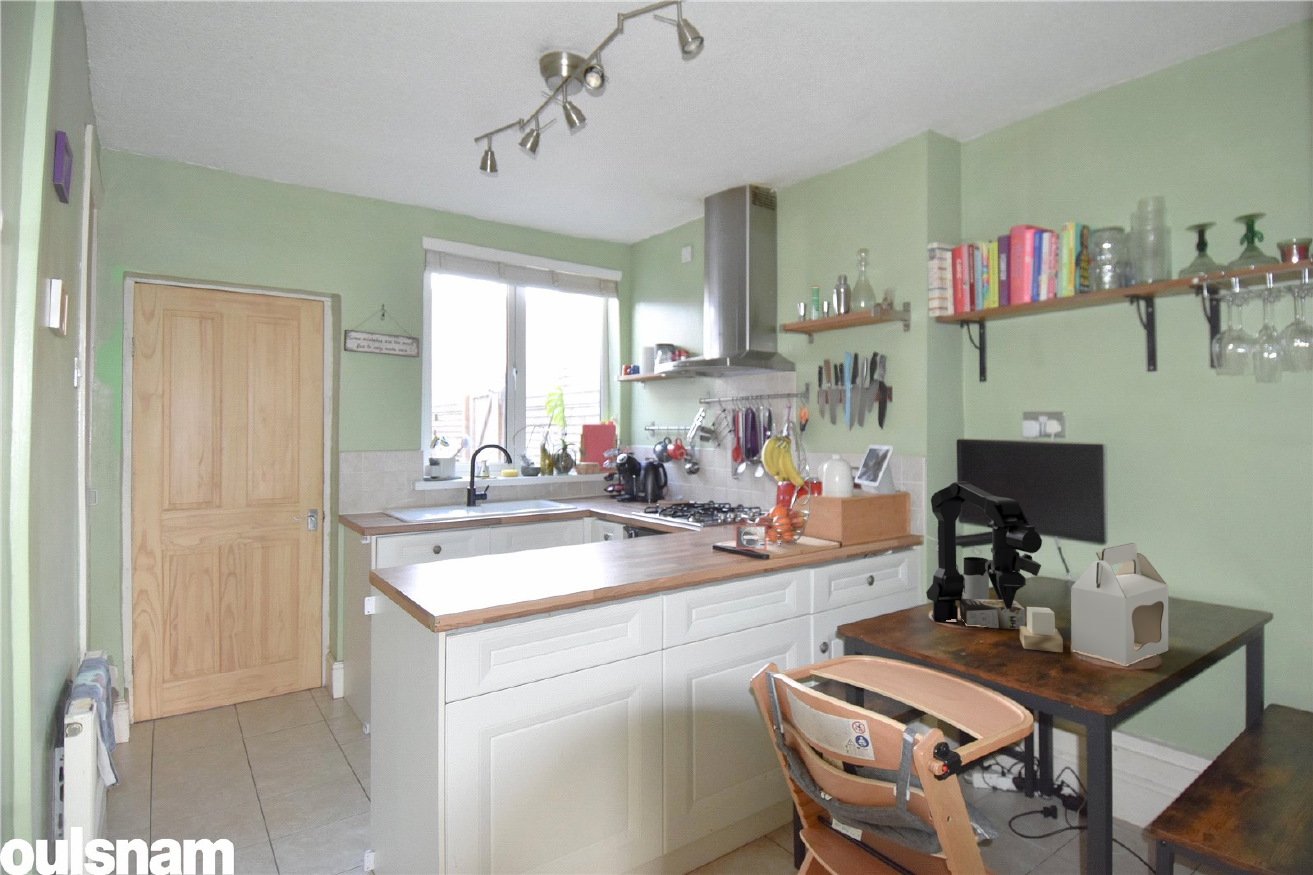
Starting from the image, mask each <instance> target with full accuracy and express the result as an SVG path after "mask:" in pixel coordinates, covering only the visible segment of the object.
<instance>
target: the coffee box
mask: <svg viewBox="0 0 1313 875" xmlns="http://www.w3.org/2000/svg"><path fill="white" fill-rule="evenodd" d="M958 603H959V617H960V616H961V618H962V619H963V620H964V622H965V623H966V624H967V625H980V626H986V627H989V628H991V629H1006V630H1007V629H1010V630H1020V626H1026V608H1024V607H1023V606H1022V605H1021V604H1020V603H1019V602H1018V601H1016V600H1013V604H1012V607H1011V609H1007V608H1006V606H1005V604H1004V601H1003V600H999V599H989V600H982V599H963V598H961V601H958ZM964 622H963V623H964Z"/></svg>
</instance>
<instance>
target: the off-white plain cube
mask: <svg viewBox="0 0 1313 875" xmlns="http://www.w3.org/2000/svg"><path fill="white" fill-rule="evenodd" d="M1055 618H1056V616H1055V612H1054V611H1053V610H1052V609H1050V608H1049V607H1039V606H1038V607H1037V606H1026V626H1027V629H1028V630H1029V631H1030V632H1031V633H1032V634H1038V635H1054V636H1055V629H1056V624H1055V623H1056V622H1055V621H1056V620H1055Z"/></svg>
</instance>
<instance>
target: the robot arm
mask: <svg viewBox="0 0 1313 875" xmlns="http://www.w3.org/2000/svg"><path fill="white" fill-rule="evenodd" d="M966 502H969V503H971V504H973V505H974V506H976V507H979V508H980V509H981V510H983V512H984V515H985V516H986V517H988V518H989V519H990V520H991V521H990V522H989V523H988V524H987V525H986V527H987V528H991V530H992V531H991V532H992V538H991V539H992V542H991V543H992V547H991V548H990V552H991V553H992V559H988V561H987V562H986V563H985V569H986V571H988V572H987V574H988V576H989V582H991V585H992V587H993V590H994V592H995V594H996V597H997V600H1003V601H1004V604H1005V606H1006V608H1007V609H1011V607H1012V604H1013V601H1015V600H1014V599H1015V596H1016V594H1017V592H1018V590H1020V589H1021V588H1022V589H1023V588H1024V586H1026V577H1025V576H1024V575H1023V574H1022V573H1021V571H1023V572H1026V573H1029V574H1031V575H1033V576H1035V577H1038V575H1039V573H1040V570H1041V568H1042V564H1041V563H1039V562H1038V561H1036V560H1033V556H1032V555H1031V554H1035V553H1037V552H1038V551H1039V550H1040V549H1041V548H1042V544H1043V540H1042V537H1041V535H1040V534H1039V533H1038V532H1037V531H1035V530H1036V528H1035V526H1034V525H1030V523H1029V521H1028V518H1027V517H1026V515H1025V513H1024V511H1023V509H1022V507H1021V505H1020V503H1019V501H1018V500H1016V499H1013V498H1010V497H1003V496H996V495H993V494H991V493H990V492H988V491H985V490H983V489H981V488H979V487H977V486H975V485H973V484H972V483H971V482H969V481H955V482H952V483H951V484H950V485H949V486H947V487H943V488H941V489H939V490H938V491H936V492H934V493H933V495H932V496H931V498H930V504H931V510H932V513H933V515H934V517H936V519H937V534H938V535H937V536H938V538H937V539H938V540H937V541H938V547H937V548H938V567H937V569H936V571H935V572H934V574H933V578H932V584H931V586H930V587H929V588H928V589H927V591H926V597H927V600H930V601H932V614H931V618H932V620H933V621H934V622H937V623H939V622H940V623H942V622H941V621H946V620H951V619H957V620H958V619H959V618H958V616H959V613H958V612H959V608H958V607H959V606H958V605H957V602H956V601H958V602H959V601H961V599H962V594H963V589H964V588H965V587H964V576H963V575H960V574H961V573H960V572H959V569H958V570H957V567H956V564H957V525H956V523H957V520H958V518H959V516H960V515H961V514H962V508H963V505H964V504H965V503H966ZM1019 551H1020V552H1024V554H1022V555H1020V552H1019Z"/></svg>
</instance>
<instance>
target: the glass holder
mask: <svg viewBox="0 0 1313 875" xmlns="http://www.w3.org/2000/svg"><path fill="white" fill-rule="evenodd" d="M988 560H989V559H988V558H984V557H981V556H980V557H979V556H967V557H966V556H965V557H963V561H962V562H963V573H960V575H963V576H964V587H965V588H964V589H963V593H962V597H961V599H982V600H990V578H989V576H988V574H987V572H988V571H986V569H985V563H986V562H987V561H988ZM956 568H957V570H958V571H959V566H958V564H957V563H956Z"/></svg>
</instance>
